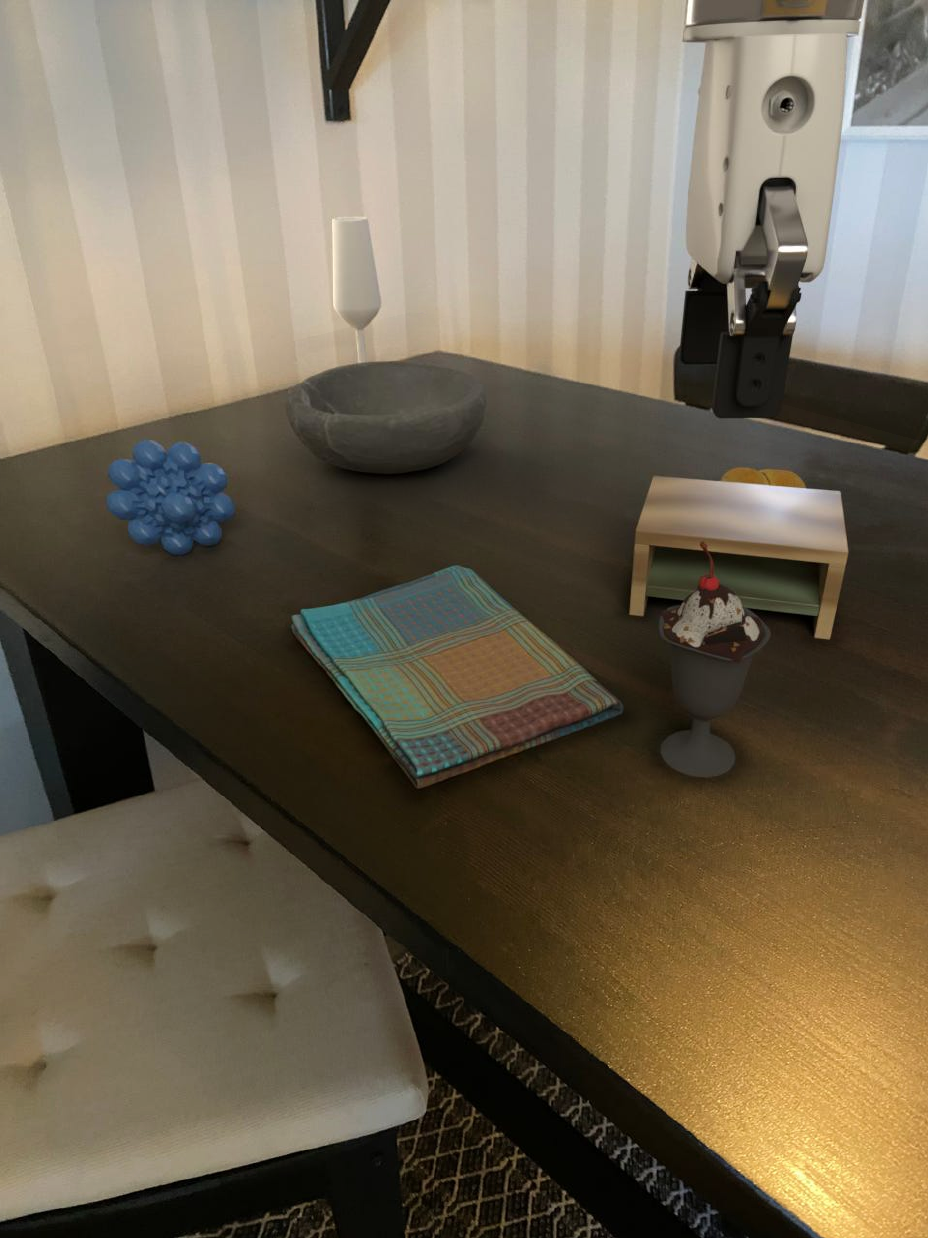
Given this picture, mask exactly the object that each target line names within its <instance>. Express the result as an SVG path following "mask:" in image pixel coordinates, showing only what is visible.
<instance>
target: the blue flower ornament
mask: <svg viewBox="0 0 928 1238" xmlns="http://www.w3.org/2000/svg"><path fill="white" fill-rule="evenodd" d="M132 448H133V449H132V459H133V460H134V461H133V460H131V459H127V458H117V459H116V460H114V461H113V462H111V463H110V464H109V465H108V471H107V474H108V475H107V476H108V478H109V480H110V482H111V484H113V485H114V486H116V487H117V488H119V489H116V488H115V489H114V490H113V491H111V492H110V493H108V495H107V496H106V507H107V509H108V511H109V513H110V514H111V515H113V516H114V517H115V518H117V519H119V520H120V521H121V520H122V521H128V525H127V534H128V536H129V537H130V539H131V540H132V541H134V542H135V543H137V544H138V545H140V546H146V547H150V546H154V545H156V544H158V542H160V544H161V546H162V548H163V549H164V550H165V551H166V552H168V553H170V554H171V555H173V556H184V555H188V554H189V553H190V552H191V551H192V550H193V547H194V542H196V543H198V544H199V545H201V546H204V547H211V546H212V547H213V546H215V545H217V544H218V543H219V542H220V541H221V540H222V533H223V529H222V527H221V526H220V524H219V523H224V522H228V521H230V520H232V519H233V517H234V516H235V513H236V504H235V503H234V501H233V499H232V498H231V497H230V496H228V495H227V494H226V493H224V492H223V491H224V490H225V489H226V488H227V486H228V475H227V473H226V472H225V470H224V469H223V468H222V467H221V466H220V465H218V464H216V463H210V462H204V463H202V455H201V453H200V452H199V450H198V449H197V448H196V447H195V446H194V445H192V444H191V443H190V442H183V441H176V442H175V443H173V444H171V445H170V446H169V447H168V448H167V451H166V449H165V448H164V446H163V445H161V444H160V443H158V442H157V441H155V440H149V439H142V440H140V441H138V442H137V443H136V444H135V445H134V446H133V447H132Z"/></svg>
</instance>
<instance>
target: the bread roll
mask: <svg viewBox="0 0 928 1238" xmlns="http://www.w3.org/2000/svg"><path fill="white" fill-rule="evenodd" d="M720 481H722V482H734V483H746V484H758V485H770V486H782V487H794V488H806V489H807V487H806V484H805V482H804V481H803V479H802V478H801V477H800V476H799V475H798V474H796V473H795V472H793V471H790V470H786V469H777V468H775V469H774V468H764V469H760V470H757V469H754V468H752V467H745V466H744V467H743V466H742V467H741V466H740V467H739V466H737V467H734V468H731V469H729V470H727V471H726V472H725V473H724V474H723V475H722V477H721V479H720Z"/></svg>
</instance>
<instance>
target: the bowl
mask: <svg viewBox="0 0 928 1238" xmlns="http://www.w3.org/2000/svg"><path fill="white" fill-rule="evenodd" d="M286 394H287V395H286V399H285V400H286V401H285V413H286V415H287V419H288V422H289V424H290V427H291V429H292V431H293V432H294V434H295V436H297V438H298V439H299V440H300V442H301V443H302V444H303V445H304V447H306V448H307V450H308V451H309V452H310V453H311V454H312V455H314V456H315V458H317V459H319V460H320V461H322V462H324V463H327V464H328V465H332V466H335V467H338V468H340V469H341V468H342V469H345V470H349V471H354V472H358V473H359V472H360V473H369V474H378V475H379V474H382V475H383V474H384V475H396V474H404V473H411V472H419V471H423V470H427V469H430V468H433V467H437V466H440V465H442V464H444V463H446V462H448V461H449V460H452V459H453V458H454V457H456V456H458V454H460V453H461V452H462V451H463V450H464V449H465V448H466V447H467V446H468V445H469V444H470V443H472V441H473V439H474V438H475V437H476V435H477V433H478V432H479V430H480V428H481V426H482V423H483V422H484V418H485V415H486V407H487V399H486V397H487V396H486V391H485V389H484V387H483V385H482V384H481V383H480V381H479V380H478V379H477V378H476V377H474V376H473V375H471V374H469V373H467V372H465V371H463V370H459V369H457V368H453V367H449V366H445V365H437V364H427V363H419V362H410V361H397V360H387V361H385V360H384V361H383V360H382V361H366V362H364V363H358V362H357V363H351V364H346V365H340V366H336V367H333V368H329V369H326V370H324V371H321V372H319V373H316V374H314V375H312V376H309V377H308V378H305V379H304V380H303V381H301V382H300V383H297V384H295V385H293V386H291V388H289V389H288V391H287V393H286Z"/></svg>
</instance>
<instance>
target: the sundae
mask: <svg viewBox="0 0 928 1238" xmlns="http://www.w3.org/2000/svg"><path fill="white" fill-rule="evenodd" d="M700 547H701V548H702V549H703V550H704V551H705V553H706V554H707V555H708V556H709V559H710V571H709V575H707V574H706V575H704V576H702V577H700V579H699V585H698V588H697V590H695V591H694V592H691V593H690V594H689V595H688V596H687V597H686V598H685V600H682V602H681V604H675V605H673V606H669V607H668V608H666V610H663V611H661V613H660V615H659V622H658V631H659V635H660V638H662V641H665V642H666V643H668V644H669V650H670V663H671V664H670V665H671V684H672V690H673V691H672V692H673V696H674V699H675V700H676V703H677V704H678V705H679V706H680V707H681V708H682V709H683V710H684V711H685V712H686V713H688V714H689V715H691V716H692V724H691V725H692V726H691V729H689V730H681V731H677V732H674V733H672V734H670V735H669V736H667V737H666V738H665V739H664V740H663V742H662V743H661V745H660V755H661V757H662V759H663V761H664V762H665V763H666V764H667V765H668V766H669V767H670V768H671V769H673V770H675V771H677V772H679V773H681V774H683V775H687V776H690V777H695V778H714V777H719V776H721V775H724V774H726V773H727V772H729V771H730V770H731V769H732V768H733V766H734V764H735V762H736V754H735V750H734V749H733V748H732V746H731V745H730V744H729V743H728V742H727V741H726V740H725V739H723V738H721V737H719V736H717V735H715V734H712V733H711V723H712V719H715V718H719V717H721V716H722V715H725V714H727V713H728V712H729V711H731V710H732V709H733V708H734V707H735V705H736V703H737V701H738V699H739V697H740V695H741V692H742V690H743V687H744V685H745V682H746V680H747V675H748V672H749V669H750V667H751V663H752V660H753V658H754V655H755V653H757V652H758V651H759V650H761V649H762V648H764V646H765V645H766V644H767V643H768V642H769V640H770V639H771V635H772V634H771V633H772V632H771V629H770V628H769V627H768V626H767V625H766V624H765V622H764V621H763V620H762V619H761V618H760V617H759V616H758V615H757V614H755V613H754V612H753V611H751V609H749V608H745V607H744V606H742V605H741V601H740V599H739V598H738V597H737V595H736V594H735V593H734V592H733V591H732V590H731V589H729V588H728V587H726V586H723V585H722V584H720V583H719V580H718V579H717V578H716V577H715V576H713V572H714V564H713V560H712V557H711V555H710V554H709V552H708V550H707V544H705V542H703V541H702V542H701V543H700Z"/></svg>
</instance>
